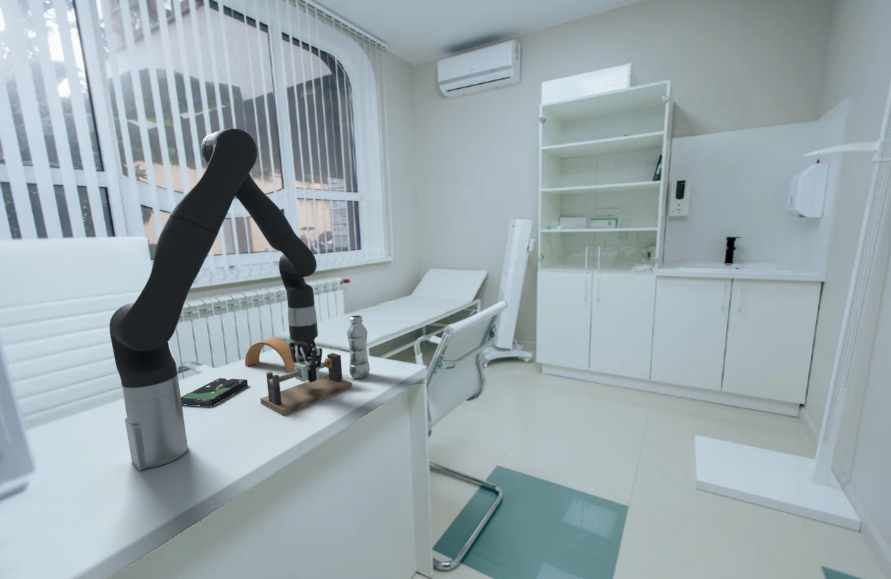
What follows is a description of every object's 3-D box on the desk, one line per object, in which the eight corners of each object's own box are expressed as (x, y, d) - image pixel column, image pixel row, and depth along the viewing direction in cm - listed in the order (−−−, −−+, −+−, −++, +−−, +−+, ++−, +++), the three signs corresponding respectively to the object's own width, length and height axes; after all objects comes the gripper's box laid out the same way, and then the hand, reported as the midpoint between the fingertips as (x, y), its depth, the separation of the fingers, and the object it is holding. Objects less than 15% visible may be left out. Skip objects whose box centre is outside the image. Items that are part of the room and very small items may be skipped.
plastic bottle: (372, 372, 127) (369, 314, 124) (366, 380, 120) (362, 319, 117) (353, 372, 127) (350, 314, 124) (346, 380, 121) (342, 319, 118)
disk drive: (219, 386, 121) (179, 406, 106) (218, 377, 120) (178, 397, 106) (248, 387, 119) (212, 408, 105) (247, 379, 119) (211, 399, 104)
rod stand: (283, 415, 98) (279, 380, 97) (260, 403, 106) (257, 370, 104) (352, 387, 115) (350, 357, 114) (328, 378, 123) (326, 350, 121)
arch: (287, 373, 129) (285, 344, 127) (245, 367, 137) (242, 340, 135) (300, 367, 134) (297, 340, 133) (258, 361, 142) (255, 335, 140)
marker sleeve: (303, 382, 107) (302, 367, 106) (295, 378, 109) (294, 363, 109) (319, 376, 110) (318, 361, 110) (311, 373, 113) (309, 359, 112)
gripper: (277, 321, 109) (282, 378, 111) (304, 328, 100) (309, 389, 103) (301, 316, 115) (306, 370, 117) (329, 322, 106) (333, 380, 108)
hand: (307, 379), depth 110 cm, fingers closed on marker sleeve, 4 cm apart
